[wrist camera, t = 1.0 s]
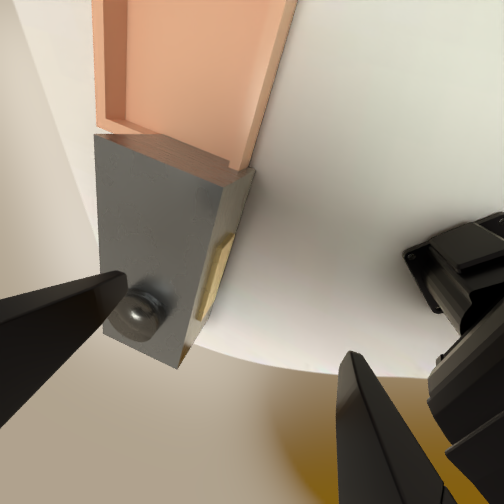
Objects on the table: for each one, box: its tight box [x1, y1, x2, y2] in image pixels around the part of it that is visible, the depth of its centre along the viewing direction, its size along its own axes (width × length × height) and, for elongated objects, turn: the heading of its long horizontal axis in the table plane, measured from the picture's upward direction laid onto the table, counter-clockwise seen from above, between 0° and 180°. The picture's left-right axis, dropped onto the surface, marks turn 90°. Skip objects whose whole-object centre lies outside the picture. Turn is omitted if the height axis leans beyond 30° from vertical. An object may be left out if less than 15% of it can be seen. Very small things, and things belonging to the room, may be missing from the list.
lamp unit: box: [94, 134, 256, 369], centre depth 19 cm, size 18×8×9 cm, turn 162°
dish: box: [92, 0, 298, 171], centre depth 15 cm, size 12×12×2 cm
